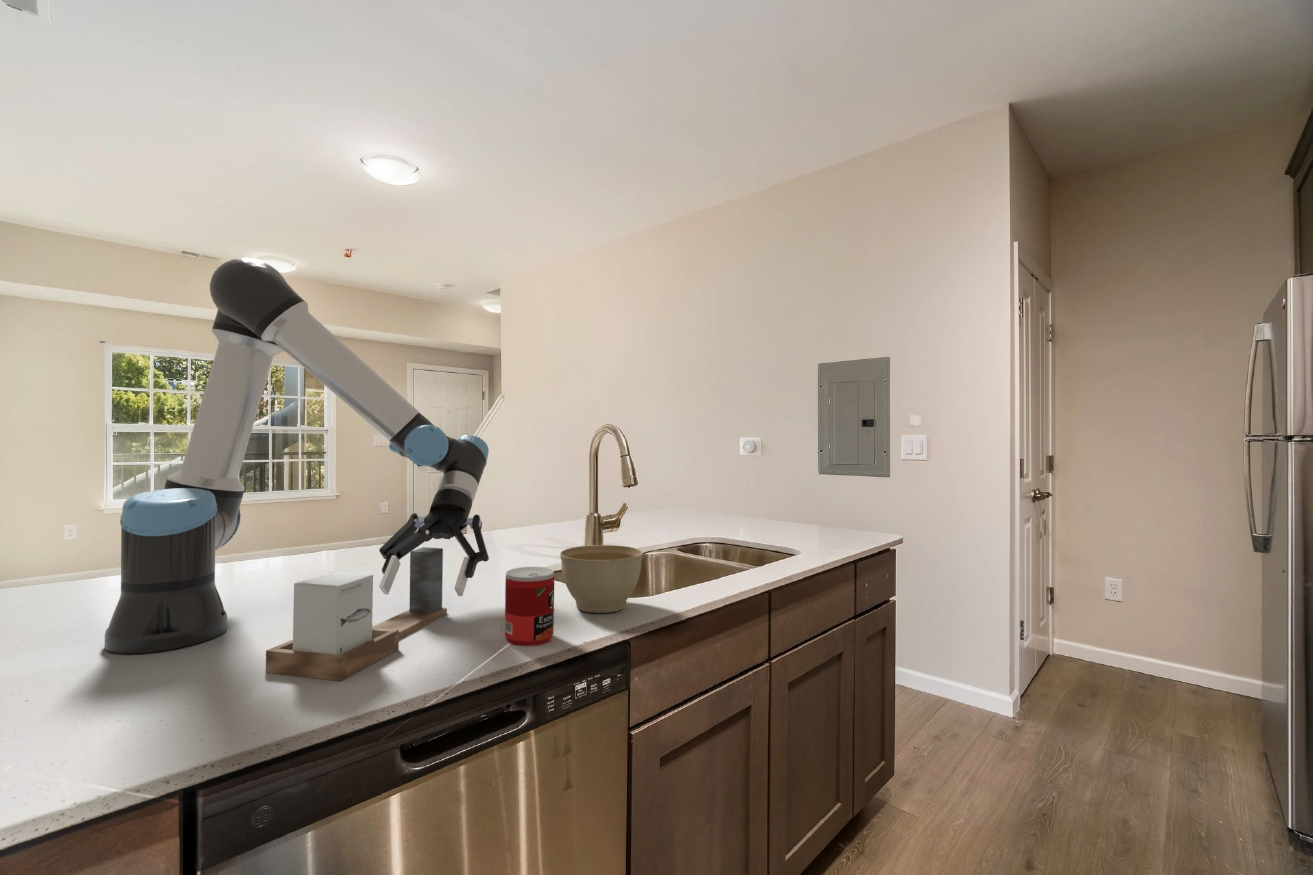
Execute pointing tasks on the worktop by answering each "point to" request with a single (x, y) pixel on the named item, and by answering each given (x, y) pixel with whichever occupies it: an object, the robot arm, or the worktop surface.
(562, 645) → the worktop surface
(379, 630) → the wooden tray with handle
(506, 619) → the canned food
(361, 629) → the supplement box
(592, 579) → the planter bowl
